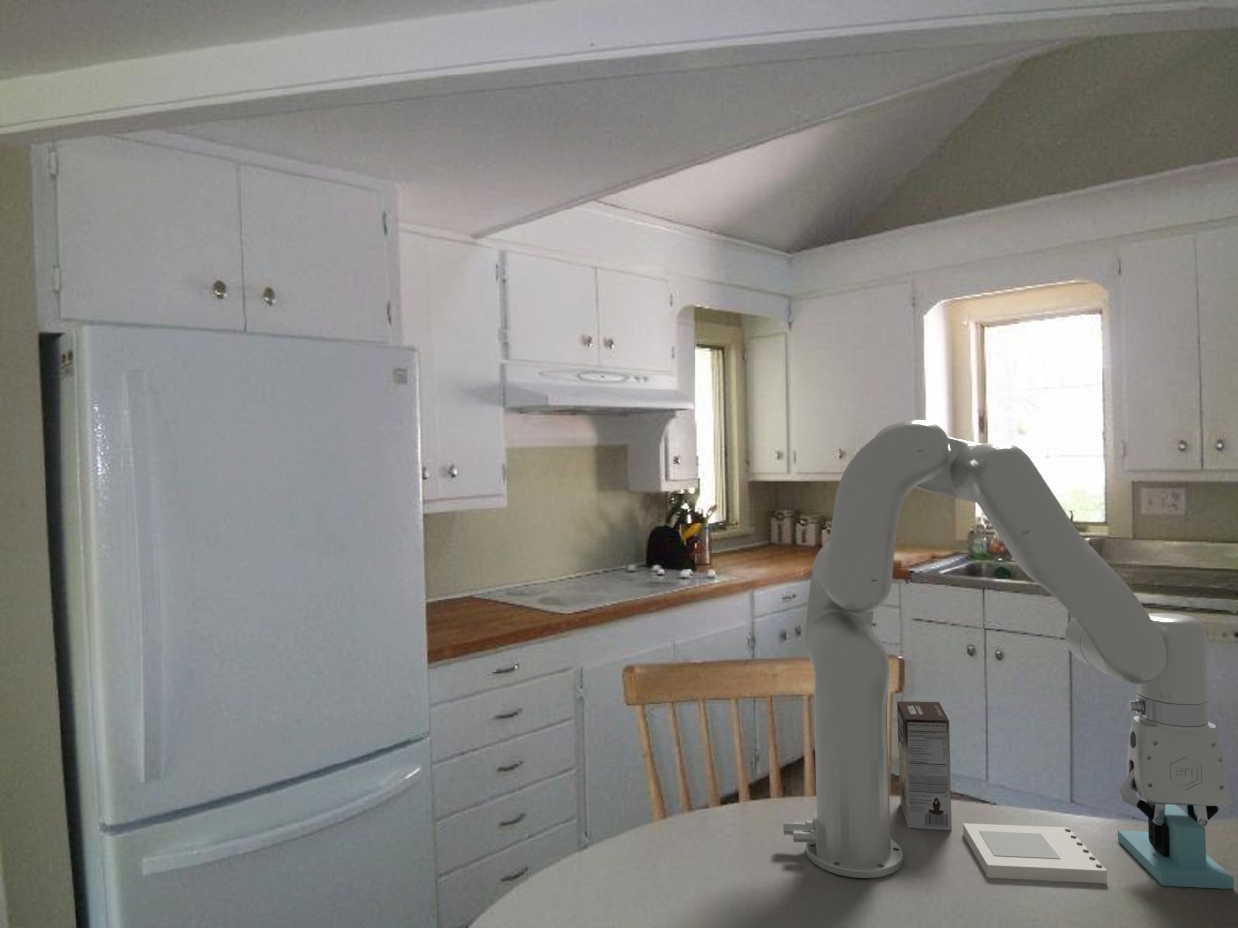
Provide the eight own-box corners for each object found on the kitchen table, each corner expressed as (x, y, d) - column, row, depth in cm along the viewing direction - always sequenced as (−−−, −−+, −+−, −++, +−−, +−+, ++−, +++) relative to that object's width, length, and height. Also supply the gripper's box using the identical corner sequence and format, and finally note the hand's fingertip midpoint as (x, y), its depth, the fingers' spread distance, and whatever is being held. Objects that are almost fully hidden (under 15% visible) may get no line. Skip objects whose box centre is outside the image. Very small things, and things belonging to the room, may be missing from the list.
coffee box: (898, 802, 126) (895, 699, 126) (942, 805, 125) (939, 700, 125) (907, 828, 117) (904, 717, 117) (954, 831, 116) (951, 719, 116)
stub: (1162, 885, 100) (1160, 833, 100) (1118, 840, 111) (1116, 793, 112) (1233, 888, 98) (1232, 836, 98) (1181, 842, 110) (1180, 796, 110)
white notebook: (988, 877, 103) (987, 863, 103) (963, 834, 115) (962, 822, 115) (1107, 883, 101) (1106, 869, 101) (1069, 838, 112) (1068, 826, 112)
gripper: (1117, 718, 102) (1121, 863, 102) (1260, 721, 100) (1264, 869, 100) (1092, 700, 110) (1095, 836, 110) (1225, 703, 107) (1229, 841, 107)
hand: (1176, 850), depth 105 cm, fingers closed on stub, 3 cm apart
